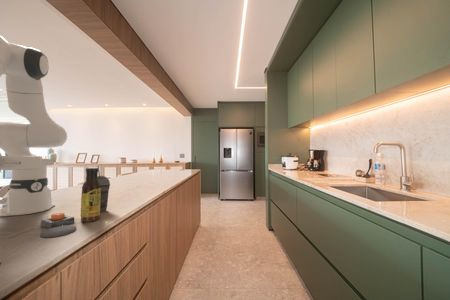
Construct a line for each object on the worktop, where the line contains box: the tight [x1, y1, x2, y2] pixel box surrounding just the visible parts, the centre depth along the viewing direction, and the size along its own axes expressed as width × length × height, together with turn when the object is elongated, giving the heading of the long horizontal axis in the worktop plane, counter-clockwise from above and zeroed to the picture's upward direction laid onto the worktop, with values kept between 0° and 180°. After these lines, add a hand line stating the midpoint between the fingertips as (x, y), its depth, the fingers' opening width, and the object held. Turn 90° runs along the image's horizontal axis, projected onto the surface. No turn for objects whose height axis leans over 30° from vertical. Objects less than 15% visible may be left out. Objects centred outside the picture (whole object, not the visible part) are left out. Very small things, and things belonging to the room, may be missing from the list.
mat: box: [39, 224, 77, 239], centre depth 67 cm, size 9×9×1 cm
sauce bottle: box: [80, 167, 101, 223], centre depth 79 cm, size 7×6×20 cm
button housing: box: [40, 214, 75, 229], centre depth 74 cm, size 7×7×2 cm
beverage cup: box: [97, 165, 111, 214], centre depth 90 cm, size 7×7×20 cm
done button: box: [50, 212, 66, 221], centre depth 74 cm, size 4×4×2 cm
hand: (44, 162), depth 66 cm, fingers open, 8 cm apart
